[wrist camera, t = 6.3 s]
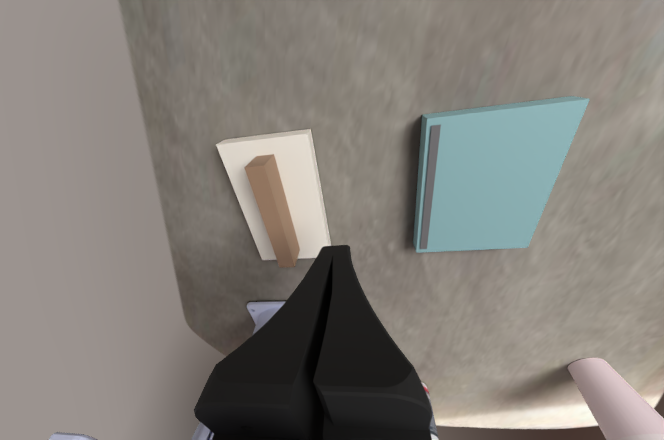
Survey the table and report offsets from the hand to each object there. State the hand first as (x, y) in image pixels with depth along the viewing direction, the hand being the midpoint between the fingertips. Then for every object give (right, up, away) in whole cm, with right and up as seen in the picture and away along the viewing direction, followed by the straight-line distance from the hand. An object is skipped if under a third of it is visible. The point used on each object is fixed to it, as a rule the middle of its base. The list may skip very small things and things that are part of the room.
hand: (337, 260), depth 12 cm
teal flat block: (+10, +5, +4) cm, 12 cm away
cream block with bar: (-4, +4, +6) cm, 8 cm away
